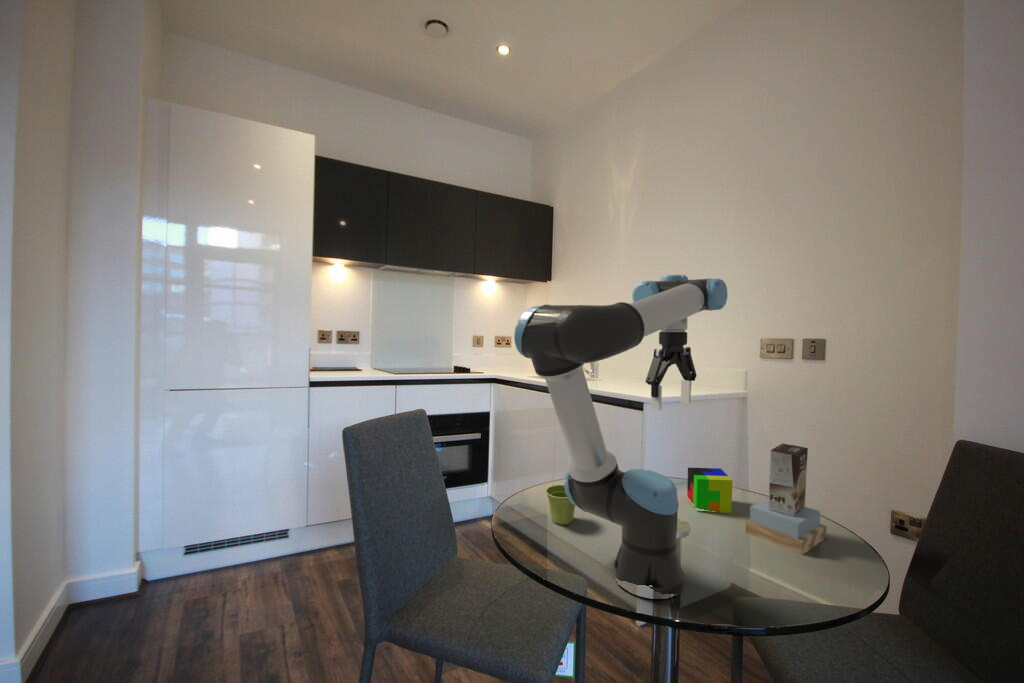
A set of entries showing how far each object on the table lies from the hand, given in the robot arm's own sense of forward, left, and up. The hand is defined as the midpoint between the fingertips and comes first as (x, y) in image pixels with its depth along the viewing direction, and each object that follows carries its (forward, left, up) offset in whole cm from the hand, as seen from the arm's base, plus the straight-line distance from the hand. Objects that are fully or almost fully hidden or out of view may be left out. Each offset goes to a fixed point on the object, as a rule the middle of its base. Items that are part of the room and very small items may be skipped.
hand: (671, 405), depth 132 cm
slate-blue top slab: (+16, -24, -29) cm, 41 cm away
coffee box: (+16, -25, -26) cm, 39 cm away
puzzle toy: (+17, -2, -33) cm, 37 cm away
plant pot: (-26, +17, -33) cm, 45 cm away
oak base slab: (+16, -25, -33) cm, 44 cm away
